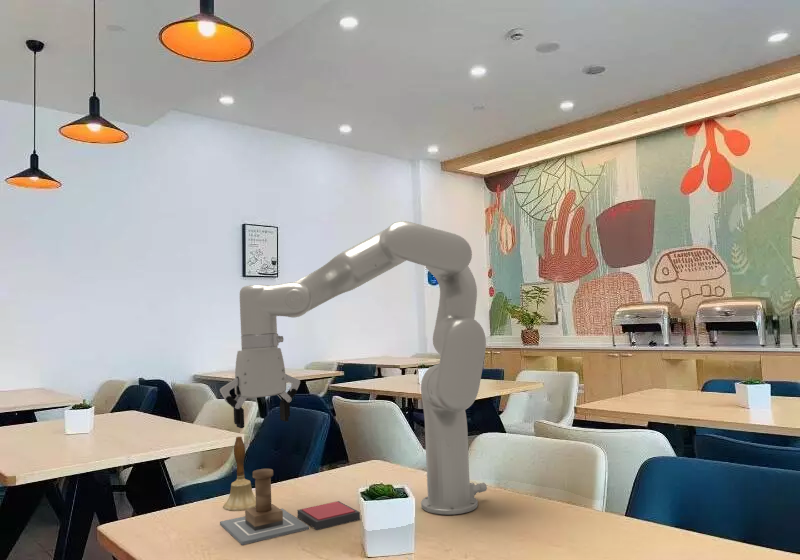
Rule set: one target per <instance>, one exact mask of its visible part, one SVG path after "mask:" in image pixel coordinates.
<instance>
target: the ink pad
mask: <svg viewBox="0 0 800 560" xmlns="http://www.w3.org/2000/svg"><path fill="white" fill-rule="evenodd" d="M296 513H297V518H298V519H299V520H301V521H302V522H304V523H305V524H307V525H308V526H309V527H312V528H313V529H315V530H316V531H318V530H322V529H327V528H331V527H335V526H339V525H343V524H348V523H352V522H356V521H360V520H361V514H360V513H361V512H360V511H359V510H357V509H355V508H353V507H351V506H349V505H347V504H345V503H343V502H341V501H339V500H338V501H333V502H328V503H324V504H319V505H314V506H310V507H305V508H301V509H297V512H296Z"/></svg>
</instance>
